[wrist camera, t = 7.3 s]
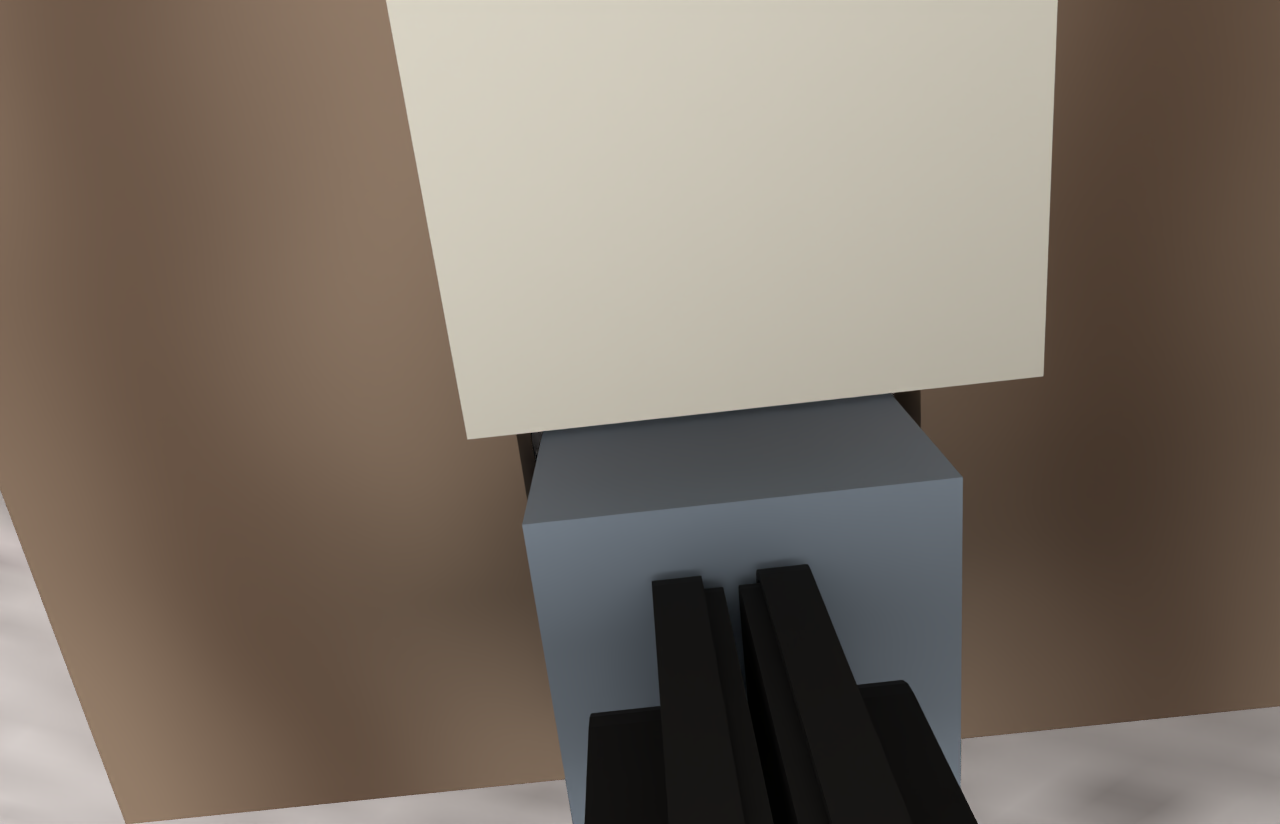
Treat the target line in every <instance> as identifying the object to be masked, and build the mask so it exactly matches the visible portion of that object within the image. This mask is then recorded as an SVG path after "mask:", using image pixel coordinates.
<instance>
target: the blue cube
mask: <svg viewBox="0 0 1280 824" xmlns="http://www.w3.org/2000/svg"><path fill="white" fill-rule="evenodd" d="M962 519H963V477H962V476H961V475H960V473H959V472H958V471H957V470H956V469H955V468H954V466H953V465H952V464H951V463H950V462H949V461H948V459H947V458H946V457H945V456H944V455H943V454H942V452H941V451H940V450H939V449H938V448H937V447H936V445H935V444H934V443H933V442H932V441H931V440H930V438H929V437H928V436H927V435H926V434H925V433H924V432H923V430H922V429H921V428H920V427H919V426H918V425H917V423H916V422H915V421H914V420H913V419H912V418H911V416H910V415H909V414H908V413H907V412H906V411H905V409H904V408H903V407H902V406H901V405H900V404H899V402H898V401H897V400H896V399H895V398H894V397H893V395H892V394H891V393H887V394H878V395H869V396H859V397H850V398H841V399H832V400H823V401H814V402H805V403H796V404H787V405H777V406H768V407H759V408H750V409H741V410H732V411H723V412H714V413H705V414H696V415H686V416H677V417H668V418H659V419H650V420H641V421H632V422H623V423H614V424H604V425H595V426H586V427H577V428H568V429H559V430H550V431H543V434H542V439H541V443H540V448H539V452H538V456H537V461H536V465H535V470H534V474H533V479H532V483H531V488H530V492H529V496H528V501H527V505H526V510H525V514H524V519H523V523H522V527H523V533H524V539H525V545H526V550H527V556H528V562H529V568H530V574H531V580H532V586H533V592H534V598H535V603H536V609H537V615H538V621H539V627H540V633H541V639H542V645H543V650H544V656H545V662H546V668H547V674H548V680H549V686H550V692H551V698H552V703H553V709H554V715H555V721H556V727H557V733H558V739H559V745H560V751H561V756H562V762H563V768H564V774H565V780H566V786H567V792H568V798H569V803H570V809H571V815H572V821H573V824H584V822H585V799H586V776H587V752H588V729H589V717H590V715H591V713H598V712H608V711H617V710H626V709H636V708H645V707H654V706H660V694H659V680H658V666H657V652H656V638H655V624H654V610H653V596H652V581H656V580H665V579H674V578H683V577H692V576H702V580H703V586H704V589H707V588H716V587H723V588H724V592H725V597H726V602H727V606H728V611H729V616H730V621H731V625H732V630H733V635H734V639H735V644H736V649H737V654H738V658H739V663H740V668H741V672H742V677H743V682H744V686H745V691H746V696H747V687H746V675H745V664H744V652H743V640H742V628H741V617H740V605H739V589H738V587H739V585H744V584H753V583H756V571H757V569H765V568H774V567H783V566H793V565H802V564H808V565H809V567H810V569H811V571H812V574H813V576H814V579H815V581H816V584H817V586H818V589H819V591H820V594H821V596H822V599H823V601H824V604H825V606H826V609H827V611H828V614H829V616H830V619H831V621H832V624H833V626H834V629H835V631H836V634H837V636H838V639H839V641H840V644H841V646H842V649H843V651H844V654H845V656H846V659H847V661H848V664H849V666H850V669H851V671H852V674H853V676H854V679H855V681H856V684H857V685H859V684H868V683H877V682H887V681H896V680H904V681H905V682H907V683H908V684H909V686H910V687H911V689H912V691H913V692H914V694H915V696H916V698H917V700H918V702H919V704H920V706H921V709H922V711H923V713H924V715H925V717H926V719H927V721H928V723H929V725H930V727H931V729H932V731H933V733H934V735H935V737H936V739H937V741H938V743H939V745H940V747H941V750H942V752H943V754H944V756H945V758H946V760H947V762H948V764H949V766H950V768H951V770H952V772H953V774H954V776H955V778H956V780H957V782H958V784H959V786H960V780H961V649H962ZM747 701H748V699H747Z"/></svg>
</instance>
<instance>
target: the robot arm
mask: <svg viewBox="0 0 1280 824" xmlns="http://www.w3.org/2000/svg"><path fill="white" fill-rule="evenodd" d="M738 589H739V605H740V617H741V628H742V640H743V652H744V664H745V675H746V687H747V696H746V691H745V686H744V682H743V677H742V672H741V668H740V663H739V658H738V654H737V649H736V644H735V639H734V635H733V630H732V625H731V621H730V616H729V611H728V606H727V602H726V597H725V592H724V588H723V587H716V588H707V589H704V586H703V580H702V576H692V577H683V578H674V579H665V580H656V581H652V596H653V610H654V624H655V638H656V652H657V666H658V680H659V694H660V706H654V707H645V708H636V709H626V710H617V711H608V712H598V713H591V715H590V717H589V729H588V752H587V776H586V799H585V822H584V824H978V823H977V821H976V819H975V817H974V815H973V813H972V811H971V809H970V807H969V805H968V803H967V801H966V799H965V797H964V795H963V793H962V790H961V788H960V786H959V784H958V782H957V780H956V778H955V776H954V774H953V772H952V770H951V768H950V766H949V764H948V762H947V760H946V758H945V756H944V754H943V752H942V750H941V747H940V745H939V743H938V741H937V739H936V737H935V735H934V733H933V731H932V729H931V727H930V725H929V723H928V721H927V719H926V717H925V715H924V713H923V711H922V709H921V706H920V704H919V702H918V700H917V698H916V696H915V694H914V692H913V691H912V689H911V687H910V686H909V684H908V683H907V682H905V681H904V680H896V681H887V682H877V683H868V684H859V685H857V684H856V681H855V679H854V676H853V674H852V671H851V669H850V666H849V664H848V661H847V659H846V656H845V654H844V651H843V649H842V646H841V644H840V641H839V639H838V636H837V634H836V631H835V629H834V626H833V624H832V621H831V619H830V616H829V614H828V611H827V609H826V606H825V604H824V601H823V599H822V596H821V594H820V591H819V589H818V586H817V584H816V581H815V579H814V576H813V574H812V571H811V569H810V567H809V565H808V564H802V565H793V566H783V567H774V568H765V569H757V571H756V583H753V584H744V585H739V587H738ZM747 699H748V701H747Z"/></svg>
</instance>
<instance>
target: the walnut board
mask: <svg viewBox="0 0 1280 824" xmlns="http://www.w3.org/2000/svg"><path fill="white" fill-rule="evenodd" d="M894 398H895V399H896V400H897V401H898V402H899V404H900V405H901V406H902V407H903V408H904V409H905V411H906V412H907V413H908V414H909V415H910V416H911V418H912V419H913V420H914V421H915V422H916V423H917V425H918V426H919V427H920V428H921V429H922V430H923V432H924V433H925V434H926V435H927V436H928V437H929V438H930V440H931V441H932V442H933V443H934V444H935V445H936V447H937V448H938V449H939V450H940V451H941V452H942V454H943V455H944V456H945V457H946V458H947V459H948V461H949V462H950V463H951V464H952V465H953V466H954V468H955V469H956V470H957V471H958V472H959V473H960V475H961V476H962V477H963V519H962V649H961V739H963V738H973V737H983V736H993V735H1002V734H1012V733H1022V732H1032V731H1041V730H1051V729H1061V728H1071V727H1081V726H1090V725H1100V724H1110V723H1120V722H1129V721H1139V720H1149V719H1159V718H1168V717H1178V716H1188V715H1198V714H1208V713H1217V712H1227V711H1237V710H1247V709H1256V708H1266V707H1276V706H1280V0H1058V6H1057V32H1056V58H1055V84H1054V111H1053V137H1052V163H1051V190H1050V216H1049V242H1048V268H1047V295H1046V321H1045V347H1044V374H1043V376H1042V377H1032V378H1023V379H1014V380H1005V381H996V382H987V383H978V384H969V385H960V386H951V387H941V388H932V389H923V390H914V391H905V392H896V393H894ZM535 465H536V463H535V457H534V451H533V445H532V438H531V433H523V434H513V435H504V436H495V437H486V438H477V439H468V440H467V434H466V429H465V424H464V418H463V413H462V407H461V402H460V397H459V391H458V386H457V380H456V375H455V370H454V364H453V359H452V353H451V348H450V343H449V337H448V332H447V327H446V321H445V316H444V310H443V305H442V300H441V294H440V289H439V283H438V278H437V273H436V267H435V262H434V256H433V251H432V246H431V240H430V235H429V230H428V224H427V219H426V213H425V208H424V203H423V197H422V192H421V186H420V181H419V176H418V170H417V165H416V160H415V154H414V149H413V143H412V138H411V133H410V127H409V122H408V116H407V111H406V106H405V100H404V95H403V90H402V84H401V79H400V73H399V68H398V63H397V57H396V52H395V46H394V41H393V36H392V30H391V25H390V19H389V14H388V9H387V3H386V0H0V490H1V493H2V495H3V498H4V501H5V503H6V506H7V509H8V511H9V514H10V517H11V519H12V522H13V525H14V527H15V530H16V533H17V535H18V538H19V541H20V543H21V546H22V549H23V551H24V554H25V557H26V559H27V562H28V565H29V567H30V570H31V573H32V575H33V578H34V581H35V583H36V586H37V589H38V591H39V594H40V597H41V599H42V602H43V605H44V607H45V610H46V613H47V615H48V618H49V621H50V623H51V626H52V629H53V631H54V634H55V637H56V639H57V642H58V645H59V647H60V650H61V653H62V655H63V658H64V661H65V663H66V666H67V669H68V671H69V674H70V677H71V679H72V682H73V685H74V687H75V690H76V693H77V695H78V698H79V701H80V703H81V706H82V709H83V711H84V714H85V717H86V719H87V722H88V725H89V727H90V730H91V733H92V735H93V738H94V741H95V743H96V746H97V749H98V751H99V754H100V756H101V759H102V762H103V764H104V767H105V770H106V772H107V775H108V778H109V780H110V783H111V786H112V788H113V791H114V794H115V796H116V799H117V802H118V804H119V807H120V810H121V812H122V815H123V818H124V820H125V823H126V824H133V823H143V822H152V821H162V820H172V819H182V818H191V817H201V816H211V815H221V814H231V813H240V812H250V811H260V810H270V809H279V808H289V807H299V806H309V805H318V804H328V803H338V802H348V801H358V800H367V799H377V798H387V797H397V796H406V795H416V794H426V793H436V792H445V791H455V790H465V789H475V788H485V787H494V786H504V785H514V784H524V783H533V782H543V781H553V780H563V779H565V774H564V768H563V762H562V756H561V751H560V745H559V739H558V733H557V727H556V721H555V715H554V709H553V703H552V698H551V692H550V686H549V680H548V674H547V668H546V662H545V656H544V650H543V645H542V639H541V633H540V627H539V621H538V615H537V609H536V603H535V598H534V592H533V586H532V580H531V574H530V568H529V562H528V556H527V550H526V545H525V539H524V533H523V527H522V523H523V519H524V514H525V510H526V505H527V501H528V496H529V492H530V488H531V483H532V479H533V474H534V470H535Z"/></svg>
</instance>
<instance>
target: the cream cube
mask: <svg viewBox="0 0 1280 824" xmlns="http://www.w3.org/2000/svg"><path fill="white" fill-rule="evenodd" d="M386 3H387V9H388V14H389V19H390V25H391V30H392V36H393V41H394V46H395V52H396V57H397V63H398V68H399V73H400V79H401V84H402V90H403V95H404V100H405V106H406V111H407V116H408V122H409V127H410V133H411V138H412V143H413V149H414V154H415V160H416V165H417V170H418V176H419V181H420V186H421V192H422V197H423V203H424V208H425V213H426V219H427V224H428V230H429V235H430V240H431V246H432V251H433V256H434V262H435V267H436V273H437V278H438V283H439V289H440V294H441V300H442V305H443V310H444V316H445V321H446V327H447V332H448V337H449V343H450V348H451V353H452V359H453V364H454V370H455V375H456V380H457V386H458V391H459V397H460V402H461V407H462V413H463V418H464V424H465V429H466V434H467V440H468V439H477V438H486V437H495V436H504V435H513V434H523V433H532V432H541V431H550V430H559V429H568V428H577V427H586V426H595V425H604V424H614V423H623V422H632V421H641V420H650V419H659V418H668V417H677V416H686V415H696V414H705V413H714V412H723V411H732V410H741V409H750V408H759V407H768V406H777V405H787V404H796V403H805V402H814V401H823V400H832V399H841V398H850V397H859V396H869V395H878V394H887V393H896V392H905V391H914V390H923V389H932V388H941V387H951V386H960V385H969V384H978V383H987V382H996V381H1005V380H1014V379H1023V378H1032V377H1042V376H1043V374H1044V347H1045V321H1046V295H1047V268H1048V242H1049V216H1050V190H1051V163H1052V137H1053V111H1054V84H1055V58H1056V32H1057V6H1058V0H386Z"/></svg>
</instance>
